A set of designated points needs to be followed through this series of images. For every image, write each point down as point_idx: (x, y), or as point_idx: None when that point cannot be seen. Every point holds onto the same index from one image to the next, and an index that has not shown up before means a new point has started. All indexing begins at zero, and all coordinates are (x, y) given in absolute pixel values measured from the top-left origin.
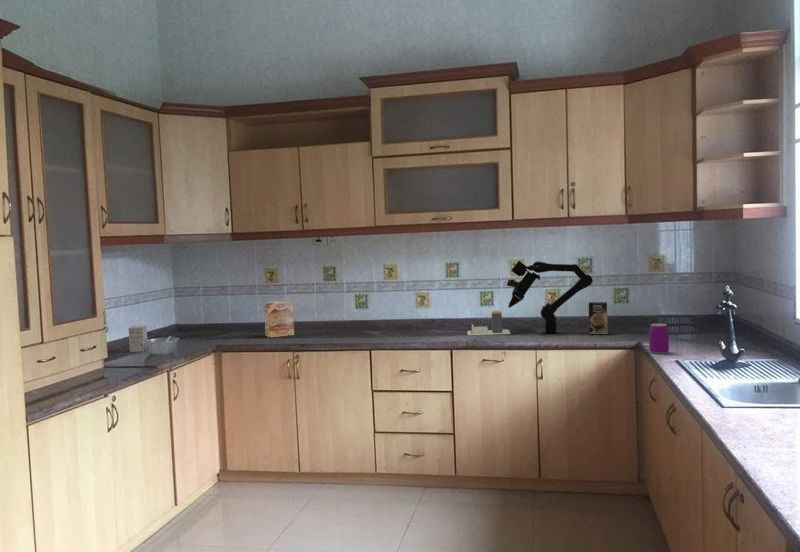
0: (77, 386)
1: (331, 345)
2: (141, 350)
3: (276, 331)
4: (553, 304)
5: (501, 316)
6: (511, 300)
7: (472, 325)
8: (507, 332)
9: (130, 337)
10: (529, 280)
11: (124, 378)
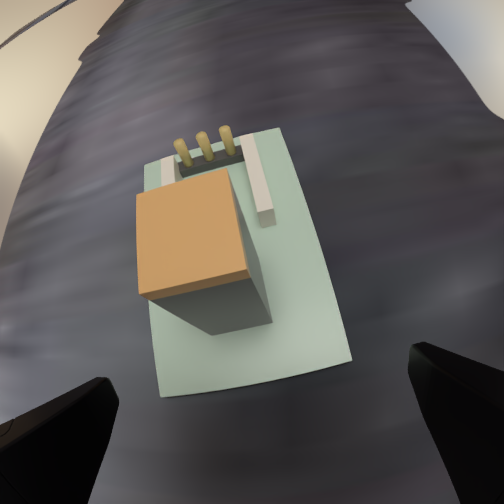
0: (13, 36)
1: (115, 13)
2: None
3: None
4: None
5: (164, 305)
6: (3, 428)
7: (196, 137)
8: (216, 371)
9: None
10: None
11: (22, 32)
